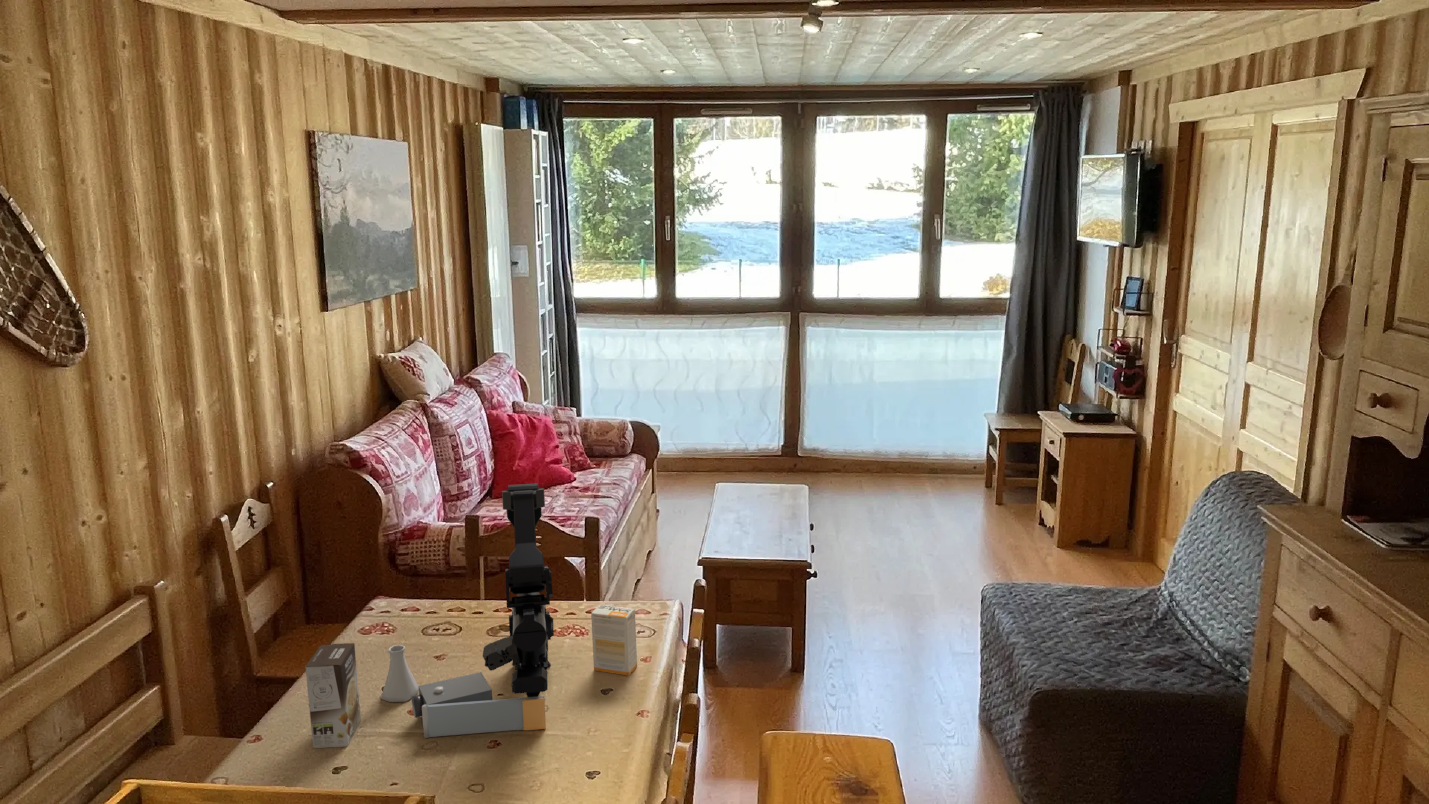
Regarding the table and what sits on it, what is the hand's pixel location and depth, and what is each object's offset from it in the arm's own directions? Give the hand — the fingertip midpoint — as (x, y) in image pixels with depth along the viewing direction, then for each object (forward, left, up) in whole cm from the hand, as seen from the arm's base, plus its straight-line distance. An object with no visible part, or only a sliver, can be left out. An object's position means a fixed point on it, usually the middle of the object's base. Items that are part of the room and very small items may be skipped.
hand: (532, 703), depth 186 cm
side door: (+9, -1, -4) cm, 10 cm away
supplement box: (-22, -13, -4) cm, 26 cm away
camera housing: (+12, -9, -4) cm, 16 cm away
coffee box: (+33, -13, -4) cm, 36 cm away
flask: (+20, -23, -4) cm, 31 cm away
